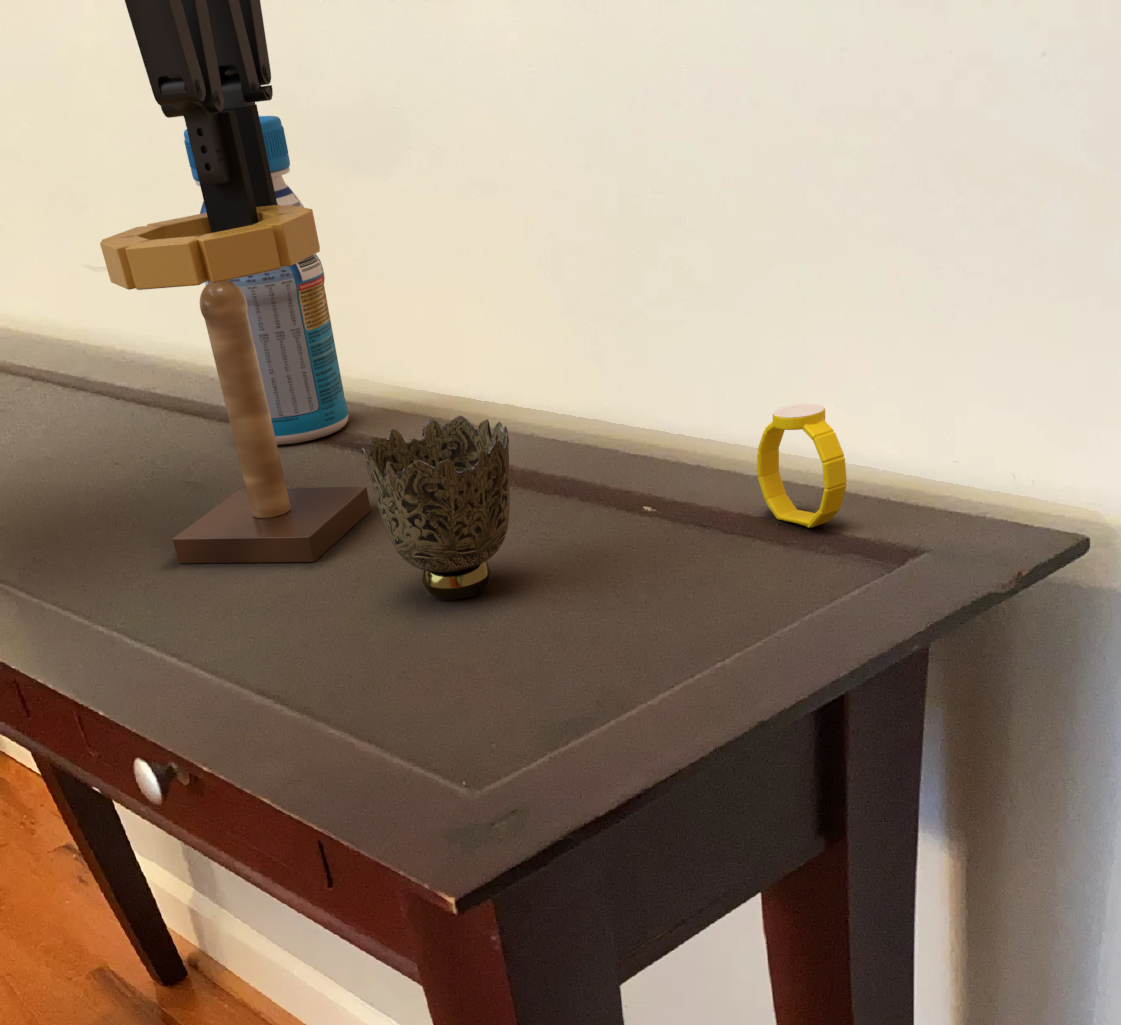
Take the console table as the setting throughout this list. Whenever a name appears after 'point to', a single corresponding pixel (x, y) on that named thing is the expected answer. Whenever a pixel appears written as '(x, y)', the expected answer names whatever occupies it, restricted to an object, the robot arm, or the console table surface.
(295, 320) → the beverage bottle
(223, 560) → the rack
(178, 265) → the ring
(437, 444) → the cup
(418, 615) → the console table surface
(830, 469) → the watch
